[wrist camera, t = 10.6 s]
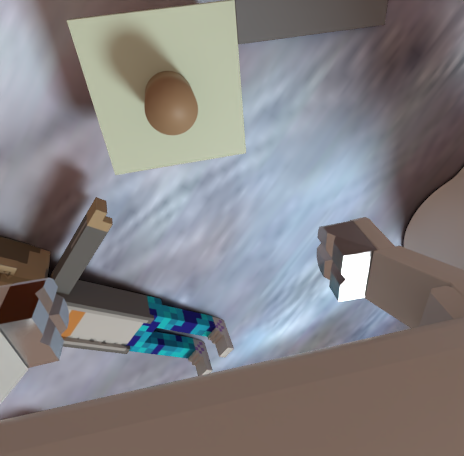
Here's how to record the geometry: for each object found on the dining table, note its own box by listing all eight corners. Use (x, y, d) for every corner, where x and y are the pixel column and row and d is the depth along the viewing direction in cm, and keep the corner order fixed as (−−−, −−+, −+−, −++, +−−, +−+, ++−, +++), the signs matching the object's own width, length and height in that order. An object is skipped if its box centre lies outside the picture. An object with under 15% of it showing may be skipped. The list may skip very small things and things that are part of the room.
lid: (230, -1, 22) (246, 1, 19) (242, 147, 28) (256, 170, 25) (70, 18, 21) (54, 25, 18) (116, 168, 27) (111, 195, 24)
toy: (164, 420, 48) (-132, 419, 31) (155, 369, 54) (-98, 345, 37) (286, 293, 39) (-42, 189, 21) (261, 247, 44) (-15, 136, 27)
